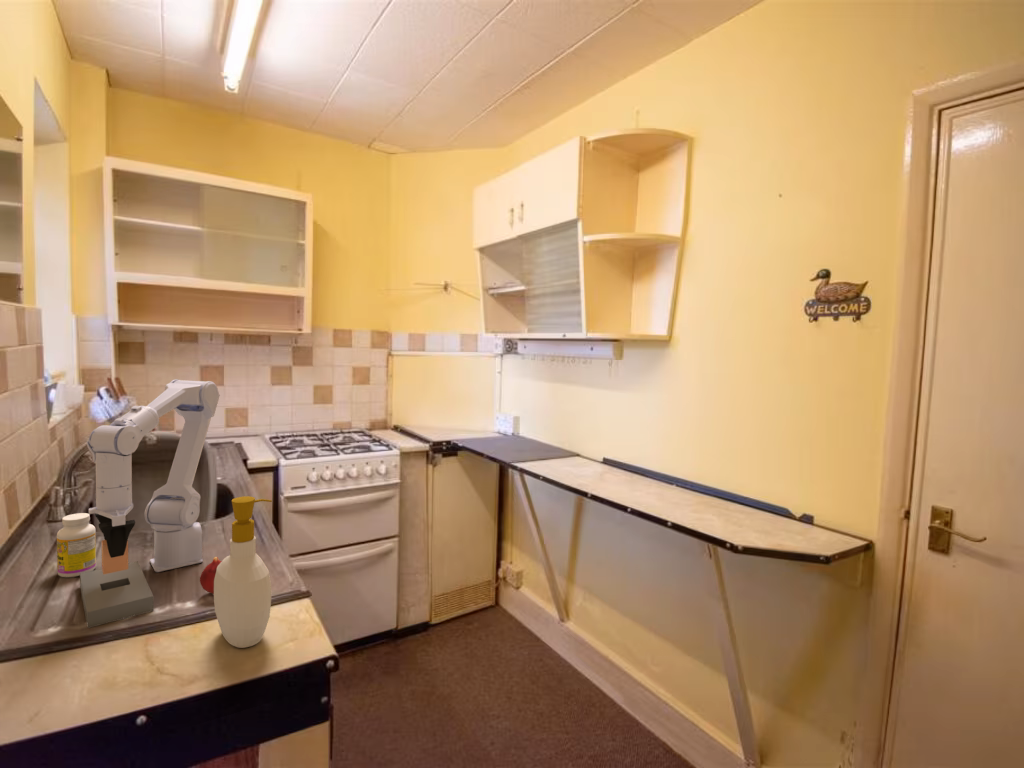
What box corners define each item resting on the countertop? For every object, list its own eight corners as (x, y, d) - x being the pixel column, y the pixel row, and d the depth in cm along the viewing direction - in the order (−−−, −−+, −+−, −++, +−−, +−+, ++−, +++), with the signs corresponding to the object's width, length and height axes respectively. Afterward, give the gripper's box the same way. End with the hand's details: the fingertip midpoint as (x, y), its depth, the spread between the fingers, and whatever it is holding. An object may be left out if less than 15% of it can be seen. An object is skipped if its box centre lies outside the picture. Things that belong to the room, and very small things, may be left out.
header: (137, 574, 115) (137, 561, 115) (153, 610, 101) (153, 595, 101) (80, 586, 108) (79, 573, 108) (87, 628, 94) (87, 612, 94)
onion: (237, 591, 110) (237, 555, 109) (212, 603, 105) (212, 565, 104) (219, 585, 112) (219, 549, 112) (193, 596, 107) (193, 559, 106)
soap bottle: (286, 643, 92) (288, 502, 90) (233, 664, 86) (234, 513, 84) (254, 612, 102) (255, 484, 100) (204, 629, 95) (204, 493, 93)
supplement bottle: (58, 569, 115) (57, 514, 114) (96, 563, 120) (95, 509, 119) (56, 581, 110) (55, 523, 109) (96, 573, 114) (95, 518, 113)
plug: (126, 564, 107) (126, 536, 106) (128, 569, 104) (128, 540, 104) (101, 569, 104) (101, 540, 103) (103, 574, 102) (103, 545, 101)
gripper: (85, 479, 105) (86, 543, 106) (91, 497, 95) (92, 567, 96) (128, 474, 110) (128, 535, 111) (138, 490, 100) (138, 558, 101)
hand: (114, 550), depth 104 cm, fingers open, 7 cm apart
